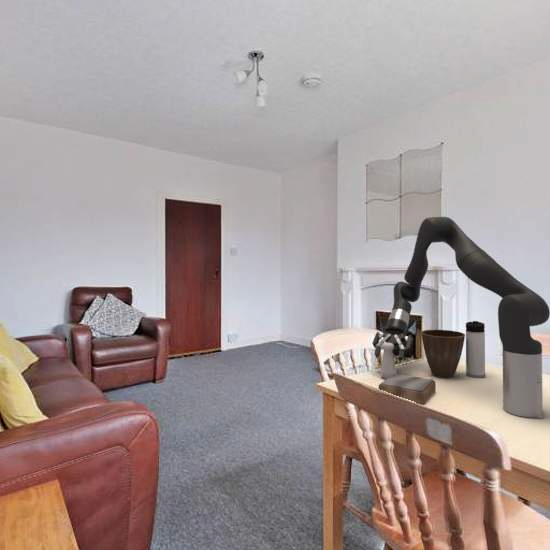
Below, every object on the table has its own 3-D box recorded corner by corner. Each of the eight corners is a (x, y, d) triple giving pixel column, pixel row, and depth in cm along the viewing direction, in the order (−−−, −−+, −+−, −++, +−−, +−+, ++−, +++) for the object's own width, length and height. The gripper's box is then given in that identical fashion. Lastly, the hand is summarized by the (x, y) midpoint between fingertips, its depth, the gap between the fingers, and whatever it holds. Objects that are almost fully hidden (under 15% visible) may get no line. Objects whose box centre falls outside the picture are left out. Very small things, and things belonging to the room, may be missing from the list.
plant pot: (452, 368, 146) (452, 329, 146) (473, 380, 131) (473, 336, 131) (415, 370, 146) (414, 330, 145) (432, 382, 131) (432, 337, 131)
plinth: (435, 391, 121) (435, 379, 121) (423, 404, 110) (423, 391, 110) (393, 384, 130) (393, 372, 130) (378, 395, 119) (378, 383, 119)
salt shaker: (397, 380, 134) (396, 345, 133) (381, 379, 135) (380, 344, 134) (395, 375, 139) (394, 341, 139) (379, 375, 140) (379, 341, 140)
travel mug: (485, 374, 139) (485, 321, 138) (484, 379, 133) (484, 324, 132) (467, 371, 142) (466, 320, 141) (465, 376, 136) (464, 322, 136)
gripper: (377, 316, 148) (366, 350, 139) (414, 318, 139) (404, 355, 130) (382, 327, 152) (372, 361, 143) (418, 330, 143) (409, 366, 135)
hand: (388, 358), depth 137 cm, fingers open, 8 cm apart
